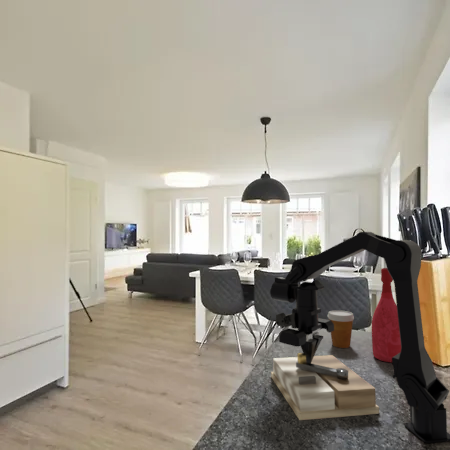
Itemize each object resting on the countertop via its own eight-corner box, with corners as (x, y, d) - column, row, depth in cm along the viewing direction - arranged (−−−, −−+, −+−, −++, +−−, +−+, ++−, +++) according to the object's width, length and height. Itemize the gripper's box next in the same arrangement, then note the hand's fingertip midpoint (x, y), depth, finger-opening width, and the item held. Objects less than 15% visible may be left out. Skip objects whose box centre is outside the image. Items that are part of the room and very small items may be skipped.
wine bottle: (386, 365, 104) (384, 269, 106) (365, 354, 114) (364, 267, 115) (412, 362, 107) (409, 268, 108) (389, 352, 116) (387, 266, 118)
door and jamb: (379, 413, 76) (378, 382, 76) (299, 420, 74) (299, 388, 74) (333, 373, 99) (332, 349, 99) (271, 377, 96) (270, 352, 97)
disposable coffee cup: (322, 343, 126) (321, 311, 127) (341, 340, 130) (340, 309, 131) (340, 351, 118) (340, 317, 118) (360, 347, 122) (359, 314, 122)
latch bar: (349, 376, 82) (349, 362, 82) (346, 380, 80) (346, 365, 80) (299, 364, 90) (299, 351, 90) (295, 368, 88) (295, 354, 88)
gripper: (300, 296, 102) (302, 347, 102) (261, 306, 89) (263, 365, 89) (333, 300, 94) (336, 356, 94) (296, 313, 81) (299, 377, 81)
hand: (308, 363), depth 90 cm, fingers closed
